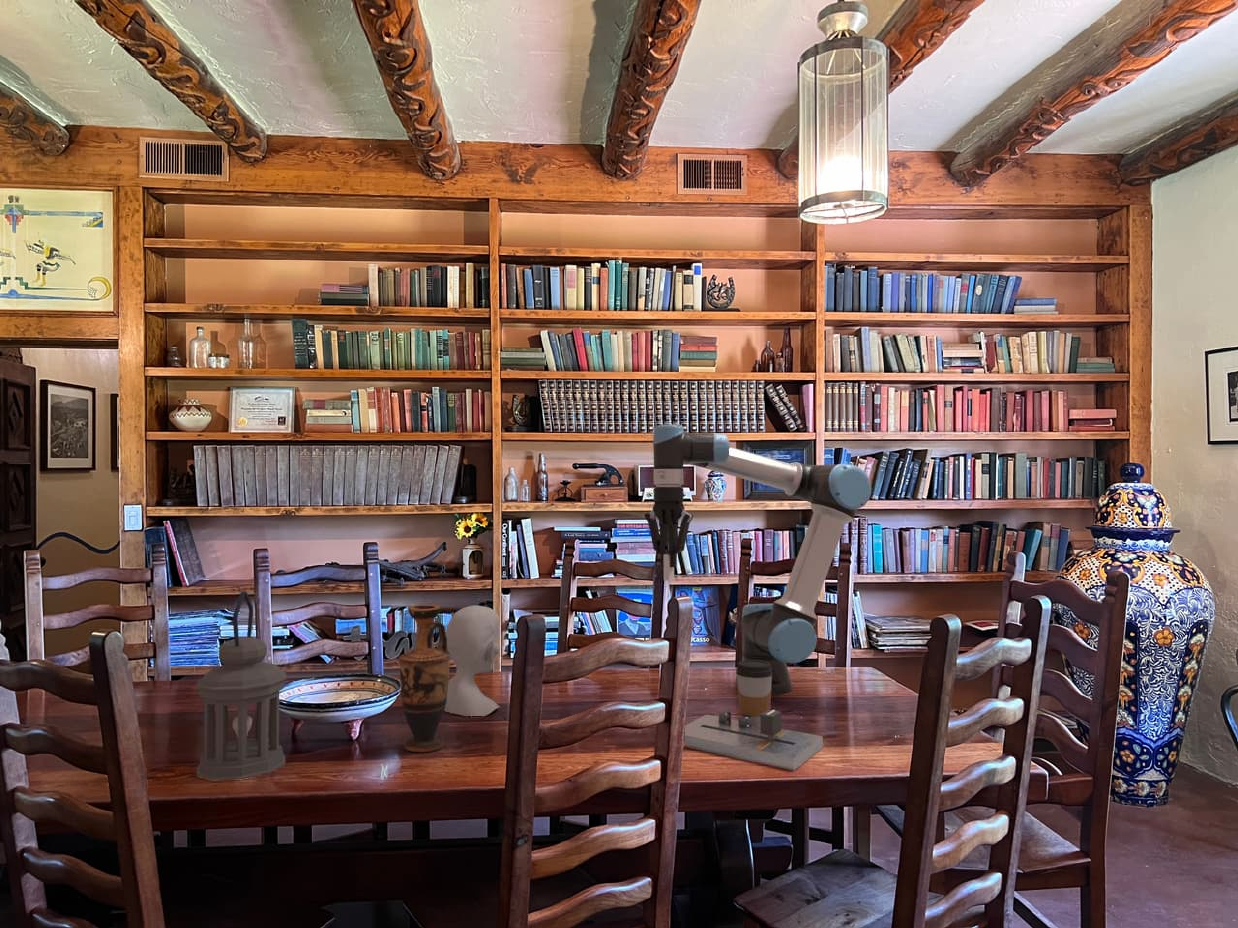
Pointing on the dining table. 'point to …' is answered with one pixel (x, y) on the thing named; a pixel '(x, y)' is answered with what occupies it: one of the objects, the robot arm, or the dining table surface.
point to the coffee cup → (754, 688)
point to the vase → (425, 681)
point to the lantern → (241, 708)
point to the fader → (770, 723)
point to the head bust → (471, 658)
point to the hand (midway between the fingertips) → (668, 579)
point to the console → (750, 741)
